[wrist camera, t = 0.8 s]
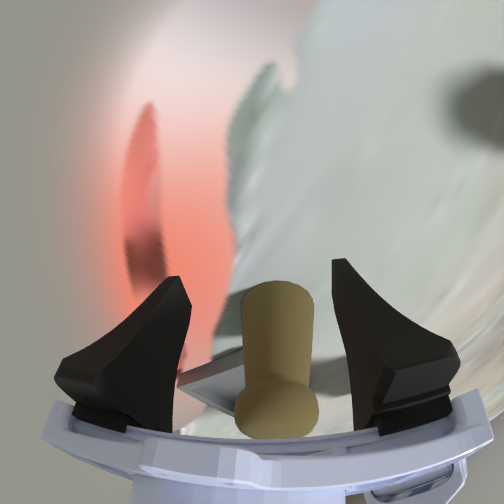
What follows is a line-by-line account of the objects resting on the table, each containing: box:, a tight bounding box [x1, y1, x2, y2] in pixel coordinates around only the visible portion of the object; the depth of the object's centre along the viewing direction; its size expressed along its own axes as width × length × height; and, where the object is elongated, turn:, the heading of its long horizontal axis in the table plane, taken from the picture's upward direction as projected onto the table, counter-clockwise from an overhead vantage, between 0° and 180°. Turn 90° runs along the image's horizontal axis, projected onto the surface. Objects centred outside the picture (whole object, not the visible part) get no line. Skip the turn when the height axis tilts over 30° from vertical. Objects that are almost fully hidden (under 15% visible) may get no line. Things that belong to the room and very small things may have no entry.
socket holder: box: [177, 349, 310, 417], centre depth 29 cm, size 11×11×2 cm
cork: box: [234, 281, 319, 439], centre depth 18 cm, size 6×6×11 cm
